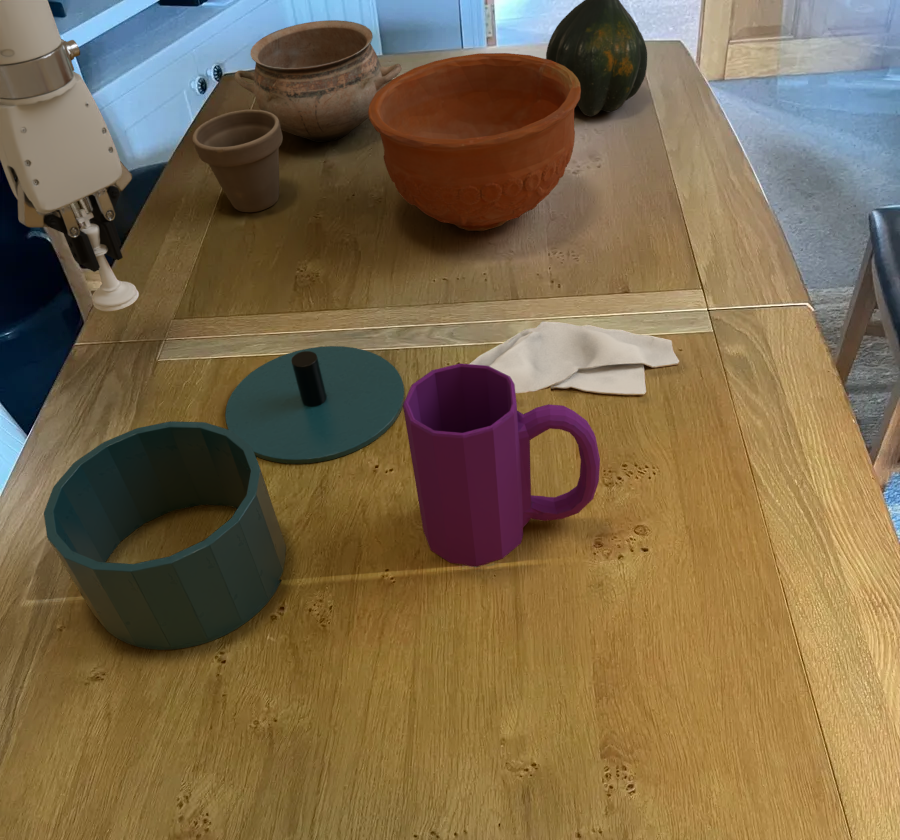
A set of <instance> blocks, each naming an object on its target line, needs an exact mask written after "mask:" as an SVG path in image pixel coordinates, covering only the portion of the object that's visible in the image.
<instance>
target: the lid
mask: <svg viewBox="0 0 900 840" xmlns="http://www.w3.org/2000/svg"><path fill="white" fill-rule="evenodd" d="M404 401H405V386H404V382H403V378H402V376H401V374H400V373H399V371H398V370H397V369H396V367H395V366H394V365H393V364H392V363H390V362H389V361H388V360H387V359H386V358H384V357H382V356H380V355H378V354H376V353H374V352H371V351H369V350H366V349H362V348H357V347H352V346H341V345H328V346H316V347H309V348H303V349H300V350H299V349H298V350H295V351H293V352H289V353H286V354H283V355H280V356H278V357H275V358H273V359H271V360H269V361H267V362H265V363H264V364H262V365H260V366H258V367H256V369H254V370H252V371H251V372H250V373H248V374H247V375H246V376H245V377H244V378H243V379H242V380H241V381H240V382H239V383H238V384H237V385H236V387H235V388H234V390H233V391H232V392H231V394H230V396H229V398H228V400H227V402H226V403H227V404H226V407H225V414H224V416H225V424H226V427H227V429H228V430H231V431H233V432H234V433H235V434H236V435H238V436H239V437H240V438H241V439H243V440H244V441H245V442H246V443H247V444H249V445H250V446H251V447H252V448H253V451H254V454H255V456H256V458H259V459H262V460H266V461H269V462H273V463H279V464H289V465H290V464H292V465H298V464H299V465H303V464H314V463H321V462H322V463H323V462H327V461H332V460H335V459H339V458H342V457H345V456H347V455H350V454H352V453H355V452H357V451H359V450H361V449H363V448H365V447H366V446H368V445H370V444H372V443H373V442H375V441H376V440H378V439H379V438H380V437H381V436H383V435H384V434H385V433H386V432H387V431H388V430H390V428H391V427H392V426H393V424H394V423H395V422H396V420H397V419H398V417H399V415H400V414H401V412H402V410H403V404H404Z"/></svg>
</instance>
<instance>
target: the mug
mask: <svg viewBox="0 0 900 840" xmlns="http://www.w3.org/2000/svg"><path fill="white" fill-rule="evenodd" d="M402 410H403V414H404V422H405V427H406V433H407V438H408V439H407V440H408V445H409V451H410V457H411V463H412V469H413V476H414V482H415V487H416V492H417V493H416V494H417V499H418V501H417V502H418V506H419V507H418V508H419V512H420V519H421V524H422V529H423V530H422V531H423V534H424V537H425V539H426V542H427V545H428V547H429V550H430V551H431V552H433V553H434V554H435V555H437V556H439V557H441V558H442V559H444V560H445V561H447V562H448V563H450V564H456V565H463V566H467V567H476V568H477V567H480V566H484V565H488V564H490V563H492V562H496V561H499V560H503V559H504V558H505V557H507V556H508V555H509V554H510V553H511V552H513V551H514V550H515V549H516V548H517V547H519V546H520V545H521V544H522V540H523V536H524V527H525V526H526V525H527V524H528V523H529V522H530V521H531V520H537V521H541V522H547V521H557V520H562V519H563V520H564V519H566V518H569V517H572V516H574V515H578V514H579V513H580V512H581V511H582V510H584V508H585V507H587V506H588V505H589V504H590V503H591V502H592V501H593V500H594V497H595V494H596V491H597V488H598V485H599V482H600V466H601V457H600V451H599V447H598V442H597V437H596V434H595V432H594V430H593V429H592V427H591V425H590V424H589V422H588V420H587V419H586V418H584V417H583V416H581V415H580V414H578V412H577V411H575V410H573V409H571V408H569V407H567V406H565V405H561V404H550V403H549V404H545V405H541V406H537V407H534V408H533V409H531V410H529V411H527V412H525V413H523V412H521V411H519V410H518V403H517V393H515V384H514V382H513V381H512V379H511V377H510V376H508V375H506V374H504V373H502V372H500V371H498V370H496V369H494V368H492V367H490V366H486V365H473V364H470V363H456V364H452V365H448V366H444V367H440V368H436V369H432V370H430V371H429V372H428V373H426V374H425V375H423V376H422V377H420V378H419V379H418V380H416V381H415V382H413V383H412V384H411V386H410V387H409V389H408V392H407V394H406V397H405V398H404V403H403V406H402ZM550 429H551V430H561V431H564V432H566V433H569V434H570V435H571V436H572V437H573V438H574V440H575V442H576V444H577V447H578V453H579V458H580V465H579V478H578V480H577V484H576V486H574V487H573V488H572V489H570V490H569V491H567V492H565V493H562V494H560V495H556V496H543V495H532V484H531V483H532V482H531V481H532V477H531V476H532V475H531V472H532V471H531V440H533V439H534V438H536V437H538V436H539V435H541V434H543V433H545V432H547V431H548V430H550Z"/></svg>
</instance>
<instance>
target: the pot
mask: <svg viewBox="0 0 900 840" xmlns="http://www.w3.org/2000/svg"><path fill="white" fill-rule="evenodd" d="M198 506H221V507H231V508H234V509H236V510H235V512H233V515H232V516H231V518H230V519H228V520H227V521H226V522H225V523H223V524H222V525H221V526H220V527H218V528H217V529H216V530H214V532H212V533H211V534H210V535H209V536H208V537H206V538H204V540H201V541H199V542H197V543H195V544H193V545H191V546H189V547H187V548H184V549H183V550H180V551H178V552H175V553H174V554H171V555H169V556H164V557H160V558H156V559H150V560H146V561H140V562H136V563H124V562H107V561H108V559H109V558H110V556H111V555H112V554H113V553H114V551H115V550H116V548H117V547H118V546H119V544H121V542H122V541H123V540H125V539H126V538H127V537H129V536H130V535H131V534H133V533H134V532H135V531H136V530H137V529H139V528H140V527H142V526H143V525H144V524H146V523H148V522H150V521H154V520H155V519H157V518H159V517H162V516H164V515H166V514H168V513H171V512H173V511H178V510H183V509H188V508H193V507H198ZM43 518H44V525H45V532H46V538H47V540H48V542H49V543H50V545H51V546H52V548H53V550H54V551H55V553H56V555H57V556H58V559H59V560H60V562H61V563H62V565H63V566H64V568H65V570H66V572H67V573H68V575H69V576H70V578H71V580H72V582H73V584H74V585H75V586H76V588H77V589H78V591H79V593H80V594H81V597H82V598H83V599H84V601H85V603H86V604H87V606H88V608H89V610H90V612H91V614H93V615H94V617H95V618H96V619H97V620H98V621H99V623H100V625H101V626H102V627H103V629H105V631H107V632H108V633H109V634H110V635H112V636H113V637H114V638H116V639H118V640H119V641H121V642H123V643H125V644H128V645H130V646H134V647H138V648H142V649H148V650H157V651H158V650H159V651H165V650H168V651H169V650H171V651H173V650H181V649H187V648H192V647H197V646H200V645H204V644H207V643H209V642H214V641H215V640H218V639H220V638H222V637H225V636H227V635H228V634H230V633H232V632H233V631H235V630H237V629H239V628H240V627H242V626H243V625H244V624H247V623H248V622H249V621H250V620H251V619H253V618H254V617H255V616H256V615H257V614H259V613H260V612H261V610H263V609H264V607H266V605H267V604H268V603H269V602H270V600H271V599H272V598H273V596H275V594H276V592H277V590H278V588H279V587H280V584H281V582H282V579H281V577H282V575H284V574H283V573H284V569H285V563H286V561H285V560H286V555H287V554H286V553H287V545H286V542H285V539H284V536H283V532H282V530H281V527H280V523H279V521H278V518H277V515H276V512H275V508H274V505H273V503H272V499H271V496H270V493H269V491H268V488H267V484H266V482H265V479H264V475H263V472H262V469H261V467H260V464H259V461H258V459H257V456H255V454H254V451H253V448H252V447H251V446H250V445H249V444H247V443H246V442H245V441H244V440H243V439H241V438H240V437H239V436H238V435H236V434H235V433H234V432H233V431H231V430H228V428H225V427H221V426H218V425H215V424H211V423H208V422H205V421H172V420H171V421H165V422H159V423H156V424H150V425H145V426H141V427H137V428H134V429H131V430H129V431H126V432H124V433H121V434H120V435H117V436H115V437H112V438H109V439H107V440H106V441H103V442H101V443H100V444H98V445H97V446H96V447H94V448H92V449H91V450H89V451H88V452H87V453H86V454H84V455H83V456H81V457H80V458H79V459H77V460H75V462H73V463H72V464H71V466H70V467H69V468H68V469H67V470H66V471H65V473H64V474H63V475H62V476H61V477H60V478H59V479H58V480H57V481H56V483H55V484H54V485H53V487H52V490H51V492H50V495H49V498H48V500H47V502H46V506H45V509H44V511H43Z"/></svg>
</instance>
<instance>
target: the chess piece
mask: <svg viewBox="0 0 900 840" xmlns="http://www.w3.org/2000/svg"><path fill="white" fill-rule="evenodd" d="M78 212H79V214H80V215H79V216H78V217H75V218H76V221H77V224H78V225H79V224H82V223H83V225H82V226H81V227H80V229H81V231H82V232H84V233H86V234H87V236H88V238H89V240H90V243H91V245H92V248H93V251H94V253H95V256H96V258H97V261H98V263H99V266H100V268H99V270H98V273H99V277H100V282H101V283H100V286H99V287H98V288H96V289H95V290H94V291H93V293H92V296H91V300H92V305H93V307H94V308H95V309H97V310H98V311H101V312H114V311H115V312H116V311H118V310H123V309H125V308H128V307H129V306H131V305H132V304H133V305H134V303H135V302H136V301H137V300H138V299H139V296H140V293H139V291H138V289H137V287H136V286H135V284H134V283H132V282H130V281H126V280H125V281H124V280H123V281H121V280H120V279H118V278H117V276H116V274H115V273H114V271H113V269H112V268H111V266H110V263H109V262H108V260H107V258H106V254H105V253H106V252H107V251H108V248H107V246H106V245H103V244H100V229H99V226H98V225H97V224H91V223H90V219H91V218H93V217H94V216H93V214H92V211H88V212H86V209H85V208H80V209H78Z"/></svg>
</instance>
